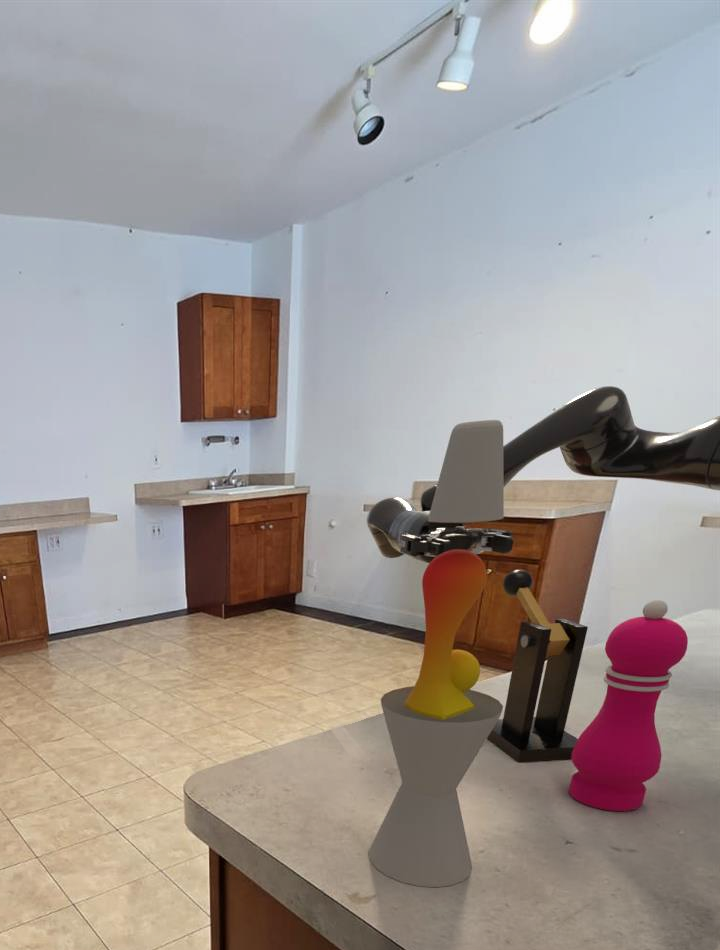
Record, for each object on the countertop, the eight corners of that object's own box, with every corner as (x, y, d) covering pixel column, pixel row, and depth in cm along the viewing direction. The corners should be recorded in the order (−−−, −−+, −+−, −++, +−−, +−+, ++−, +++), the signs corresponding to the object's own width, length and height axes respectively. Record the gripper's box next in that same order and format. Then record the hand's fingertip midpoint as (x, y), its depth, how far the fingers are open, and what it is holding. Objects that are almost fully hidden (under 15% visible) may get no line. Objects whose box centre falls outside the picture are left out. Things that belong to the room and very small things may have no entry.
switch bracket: (476, 731, 83) (495, 617, 77) (538, 727, 83) (562, 612, 77) (518, 762, 74) (543, 636, 68) (587, 758, 74) (619, 631, 68)
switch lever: (494, 586, 81) (505, 565, 78) (520, 584, 81) (531, 563, 78) (534, 659, 74) (547, 638, 71) (562, 657, 73) (576, 636, 71)
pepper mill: (658, 818, 61) (725, 608, 53) (571, 809, 64) (621, 607, 55) (635, 785, 67) (691, 592, 59) (556, 778, 70) (599, 592, 61)
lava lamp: (430, 901, 52) (504, 415, 37) (345, 854, 59) (378, 429, 44) (496, 863, 56) (585, 412, 41) (408, 823, 63) (458, 426, 49)
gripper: (387, 514, 101) (429, 522, 86) (477, 508, 100) (535, 514, 86) (382, 563, 104) (422, 579, 89) (470, 557, 104) (524, 572, 89)
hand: (477, 547), depth 88 cm, fingers open, 8 cm apart
